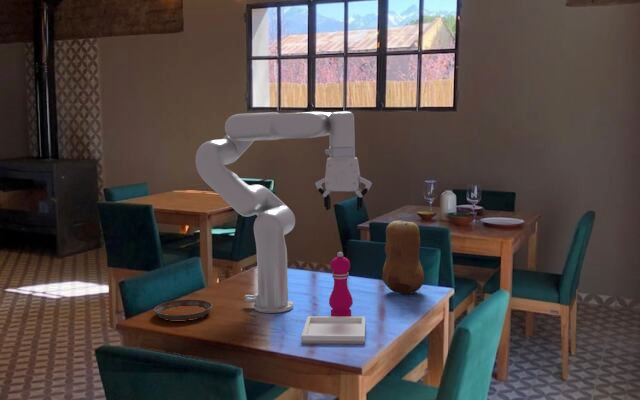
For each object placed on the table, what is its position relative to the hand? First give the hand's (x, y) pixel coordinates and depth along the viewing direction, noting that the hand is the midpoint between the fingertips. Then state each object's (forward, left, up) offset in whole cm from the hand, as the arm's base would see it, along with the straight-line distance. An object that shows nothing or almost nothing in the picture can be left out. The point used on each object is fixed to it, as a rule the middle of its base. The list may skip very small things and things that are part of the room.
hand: (343, 209), depth 202 cm
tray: (-2, -19, -32) cm, 37 cm away
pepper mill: (-1, -3, -33) cm, 33 cm away
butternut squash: (+19, +23, -33) cm, 44 cm away
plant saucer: (-50, -3, -33) cm, 60 cm away
